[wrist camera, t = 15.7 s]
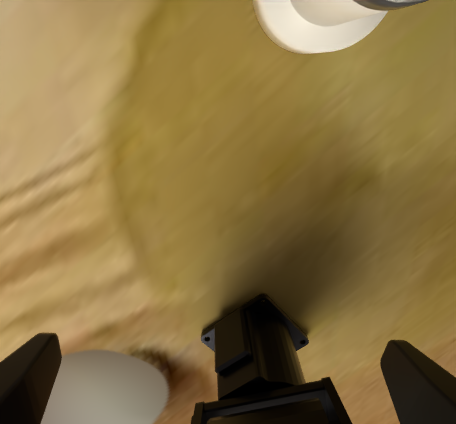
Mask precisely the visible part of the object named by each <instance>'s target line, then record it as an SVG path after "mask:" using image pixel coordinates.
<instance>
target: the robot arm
mask: <svg viewBox="0 0 456 424" xmlns="http://www.w3.org/2000/svg"><path fill="white" fill-rule="evenodd" d="M263 300H265V301H264V302H261V301H263ZM201 341H202V342H203V343H204V344H205V345H207V346H208V347H209V348H210V349H212V350H213V351H214V352H215V372H216V373H217V381H218V401H212V402H207V403H205V402H199V403H196V404H195V410H194V415H193V416H192V420H191V424H352V422H351V420H350V418H349V416H348V414H347V412H346V410H345V408H344V406H343V404H342V402H341V399H340V397H339V395H338V393H337V391H336V389H335V387H334V385H333V383H332V381H331V379H330V377H326V378H321V380H319V381H314V382H309V383H306V382H305V379H304V375H303V372H302V369H301V366H300V362H299V359H298V356H297V352H296V351H297V350H299V349H301V348H302V347H304V346H306V345H307V344H308V343H309V340H308V337H307V335H306V334H305V333H304V332H303V331H302V330H301V329H300V328H299V327H298V326H297V325H296V324H295V323H294V322H293V321H292V320H291V319H290V318H289V317H288V316H287V315H286V314H285V313H284V312H283V311H282V310H281V309H280V308H279V307H278V306H277V305H276V304H275V303H274V302H273V301H272V300H271V299H270V298H269V297H268V296H267V295H265V294H261V295H259V296H257V297H255V298H254V299H252V300H251V301H249V302H248V303H246V304H245V305H243V306H242V307H240V308H239V309H237V310H236V311H234V312H233V313H231V314H230V315H228V316H226V317H225V318H223V319H222V320H220V321H219V322H217V323H216V324H214V325H213V326H211V327H210V328H208V329H207V330H205V331H204V332H202V334H201ZM61 358H62V355H61V350H60V345H59V340H58V336H57V334H56V333H39V334H37V335H35V336H34V337H33V338H31V339H30V340H29V341H27V342H26V343H25V344H24V345H22V346H21V347H20V348H18V349H17V350H16V351H14V352H13V353H12V354H10V355H9V356H8V357H7V358H5V359H4V360H3V361H1V362H0V424H40V423H41V420H42V418H43V415H44V412H45V409H46V406H47V403H48V400H49V397H50V394H51V391H52V388H53V385H54V382H55V379H56V376H57V373H58V370H59V367H60V364H61ZM380 363H381V369H382V372H383V375H384V378H385V381H386V384H387V387H388V390H389V393H390V396H391V399H392V401H393V404H394V407H395V410H396V413H397V416H398V419H399V421H400V424H456V377H454V376H453V375H452V374H450V373H449V372H447V371H446V370H445V369H443V368H442V367H441V366H439V365H438V364H437V363H435V362H434V361H433V360H431V359H430V358H429V357H427V356H426V355H425V354H423V353H422V352H420V351H419V350H418V349H416V348H415V347H414V346H412V345H411V344H410V343H408V342H407V341H404V340H390V341H389V342H388V344H387V346H386V348H385V351H384V353H383V355H382V358H381V362H380Z"/></svg>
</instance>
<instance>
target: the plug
mask: <svg viewBox="0 0 456 424" xmlns="http://www.w3.org/2000/svg"><path fill="white" fill-rule="evenodd" d="M425 1H428V0H252V2H253V7H254V11H255V14H256V17H257V19H258V22H259V24H260V26H261V27H262V29H263V31H264V32H265V33H266V35H267V36H268V37H269V38H270V39H271V40H272V41H273V42H274V43H275V44H277V45H278V46H279V47H281V48H283V49H285V50H287V51H290V52H293V53H298V54H311V53H322V52H332V51H337V50H341V49H344V48H346V47H349V46H351V45H353V44H355V43H357V42H358V41H360V40H361V39H363V38H364V37H365V36H367V35H368V34H369V33H370V32H371V31H372V30H373V29H374V28H375V27H376V26H377V25H378V24H379V23H380V22H381V20H382V19H383V18H384V16H385V15H386V13H387V12H388V11H389V10H396V9H400V8H404V7H408V6H411V5H415V4H418V3H422V2H425Z"/></svg>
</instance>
